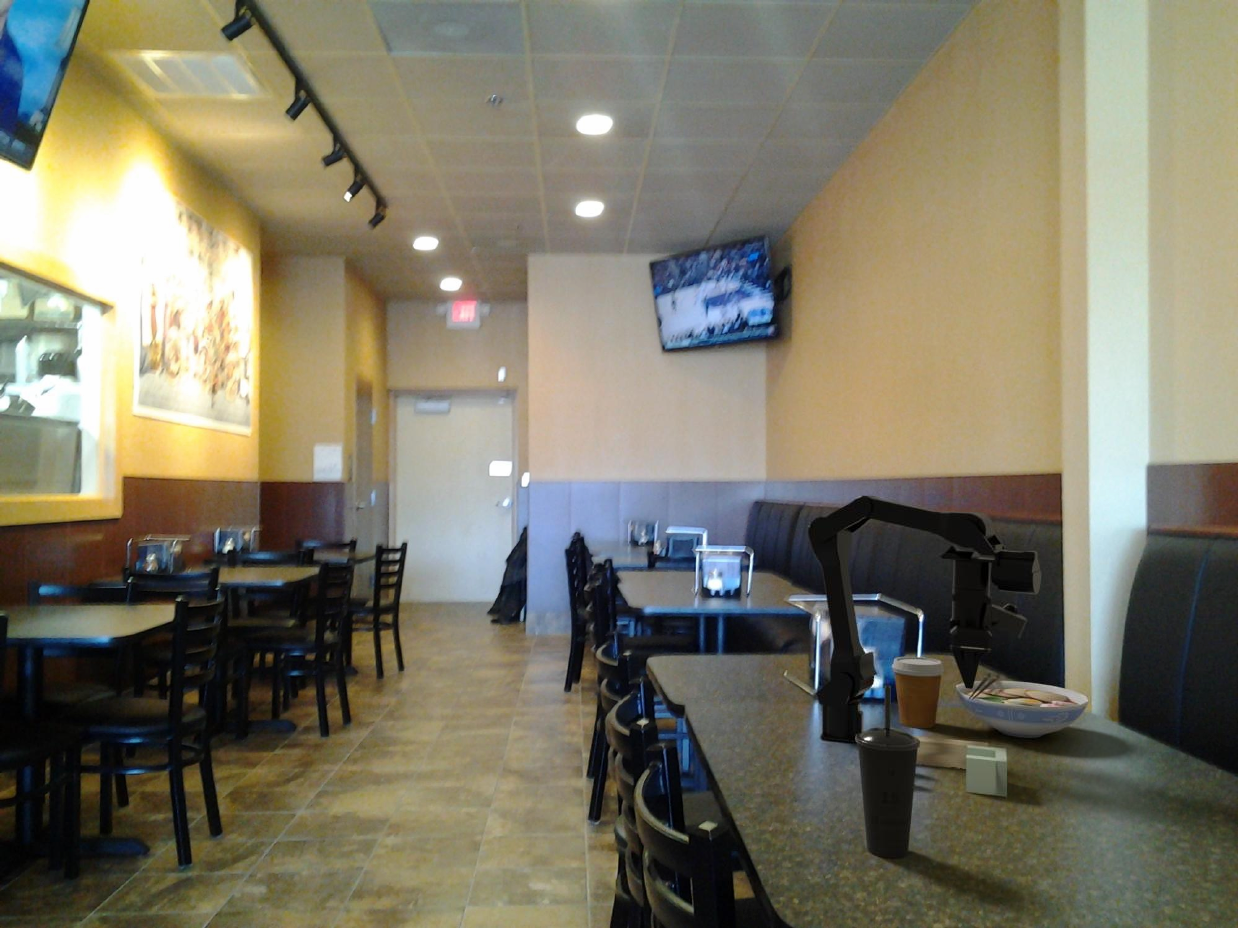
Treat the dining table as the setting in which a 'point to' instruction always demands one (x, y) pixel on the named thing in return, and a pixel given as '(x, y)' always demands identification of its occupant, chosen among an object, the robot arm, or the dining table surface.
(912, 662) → the disposable coffee cup
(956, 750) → the slat
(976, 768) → the right end cap
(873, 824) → the drinking cup
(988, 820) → the dining table surface
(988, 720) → the ramen bowl
